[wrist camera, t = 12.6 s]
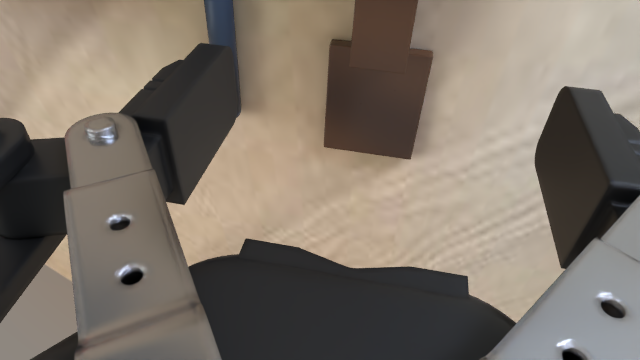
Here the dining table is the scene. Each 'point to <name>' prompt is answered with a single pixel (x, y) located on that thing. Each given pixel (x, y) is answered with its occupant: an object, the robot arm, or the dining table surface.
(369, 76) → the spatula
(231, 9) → the scoop
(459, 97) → the dining table surface
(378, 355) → the robot arm
